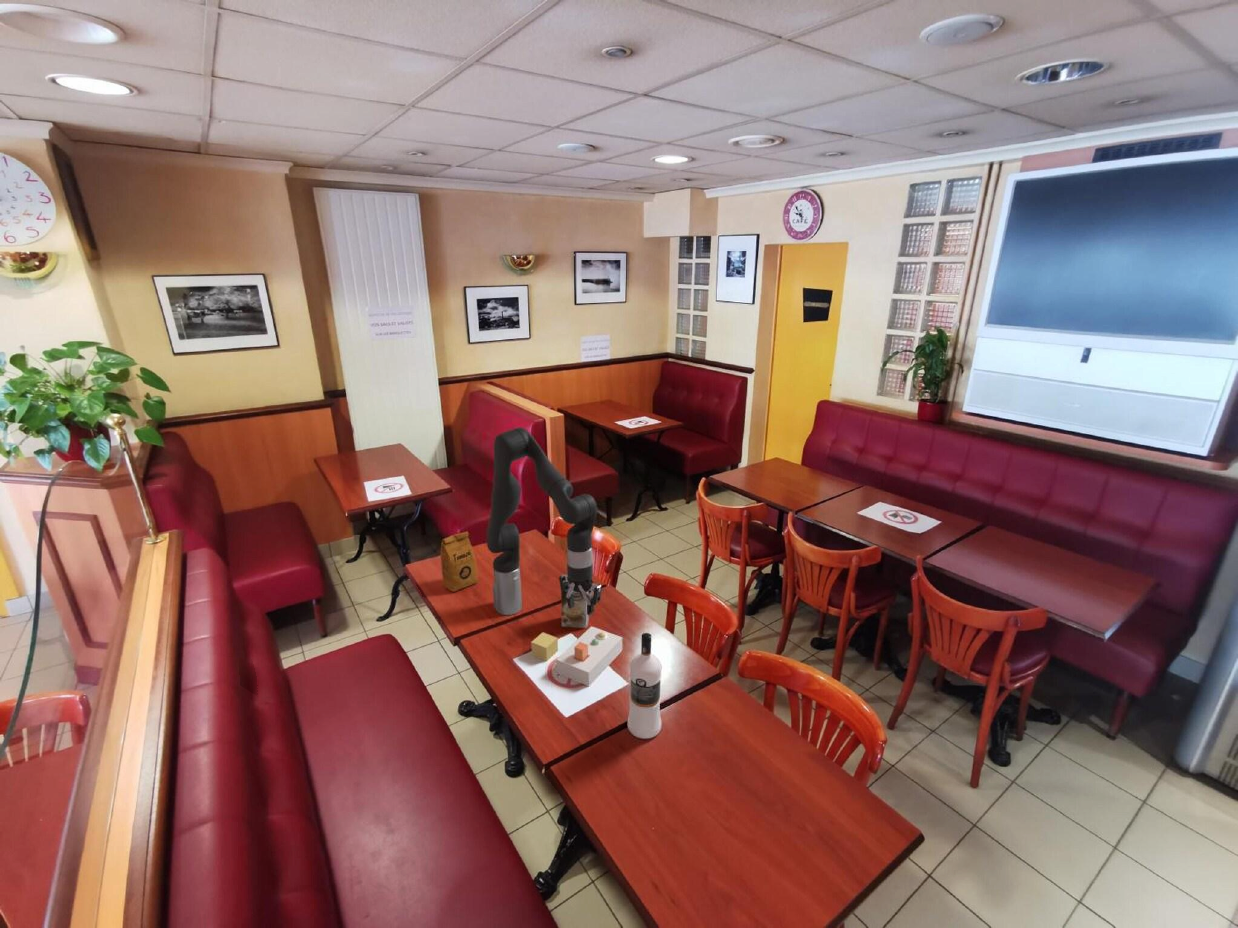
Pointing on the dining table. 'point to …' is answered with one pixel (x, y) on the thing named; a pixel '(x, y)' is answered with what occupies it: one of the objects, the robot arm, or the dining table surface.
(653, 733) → the vodka
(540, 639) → the cap
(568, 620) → the coffee box
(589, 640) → the panel
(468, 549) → the coffee package
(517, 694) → the dining table surface
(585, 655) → the button
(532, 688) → the dining table surface
